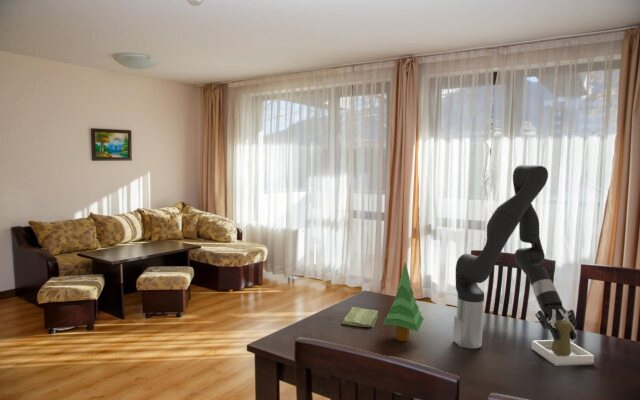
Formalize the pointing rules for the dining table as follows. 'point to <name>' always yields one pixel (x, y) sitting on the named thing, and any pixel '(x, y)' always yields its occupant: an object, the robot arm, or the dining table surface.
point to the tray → (575, 358)
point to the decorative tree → (404, 309)
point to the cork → (562, 338)
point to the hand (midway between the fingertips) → (566, 339)
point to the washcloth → (361, 317)
